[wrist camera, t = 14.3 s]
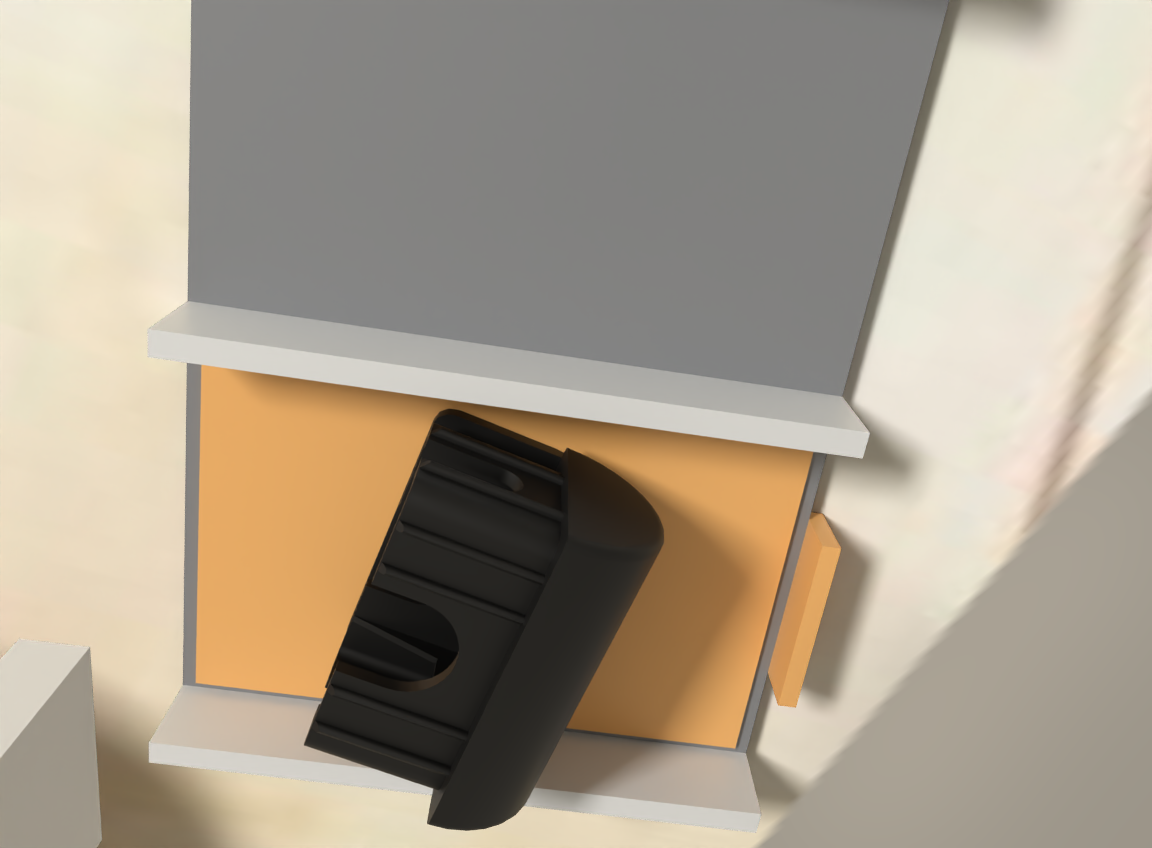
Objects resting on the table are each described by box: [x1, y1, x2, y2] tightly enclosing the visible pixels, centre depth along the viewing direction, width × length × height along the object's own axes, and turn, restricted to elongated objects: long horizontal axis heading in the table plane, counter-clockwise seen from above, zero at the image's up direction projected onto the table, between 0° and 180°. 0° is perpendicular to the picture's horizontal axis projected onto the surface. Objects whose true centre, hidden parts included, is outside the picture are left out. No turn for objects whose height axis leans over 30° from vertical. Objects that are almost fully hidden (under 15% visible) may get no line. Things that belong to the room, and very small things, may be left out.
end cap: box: [304, 408, 664, 831], centre depth 29 cm, size 10×7×7 cm
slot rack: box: [148, 0, 949, 833], centre depth 29 cm, size 21×28×4 cm
